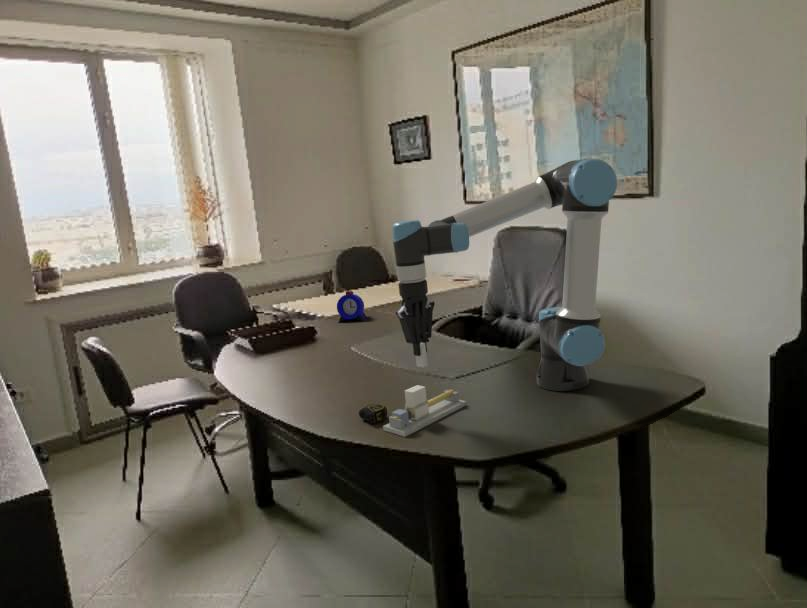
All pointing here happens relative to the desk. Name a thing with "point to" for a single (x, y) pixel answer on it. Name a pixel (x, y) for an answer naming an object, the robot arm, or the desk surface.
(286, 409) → the desk surface
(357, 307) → the alarm clock
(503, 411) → the desk surface
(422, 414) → the white rectangular block
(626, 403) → the desk surface
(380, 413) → the tape measure
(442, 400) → the threaded rod slide
